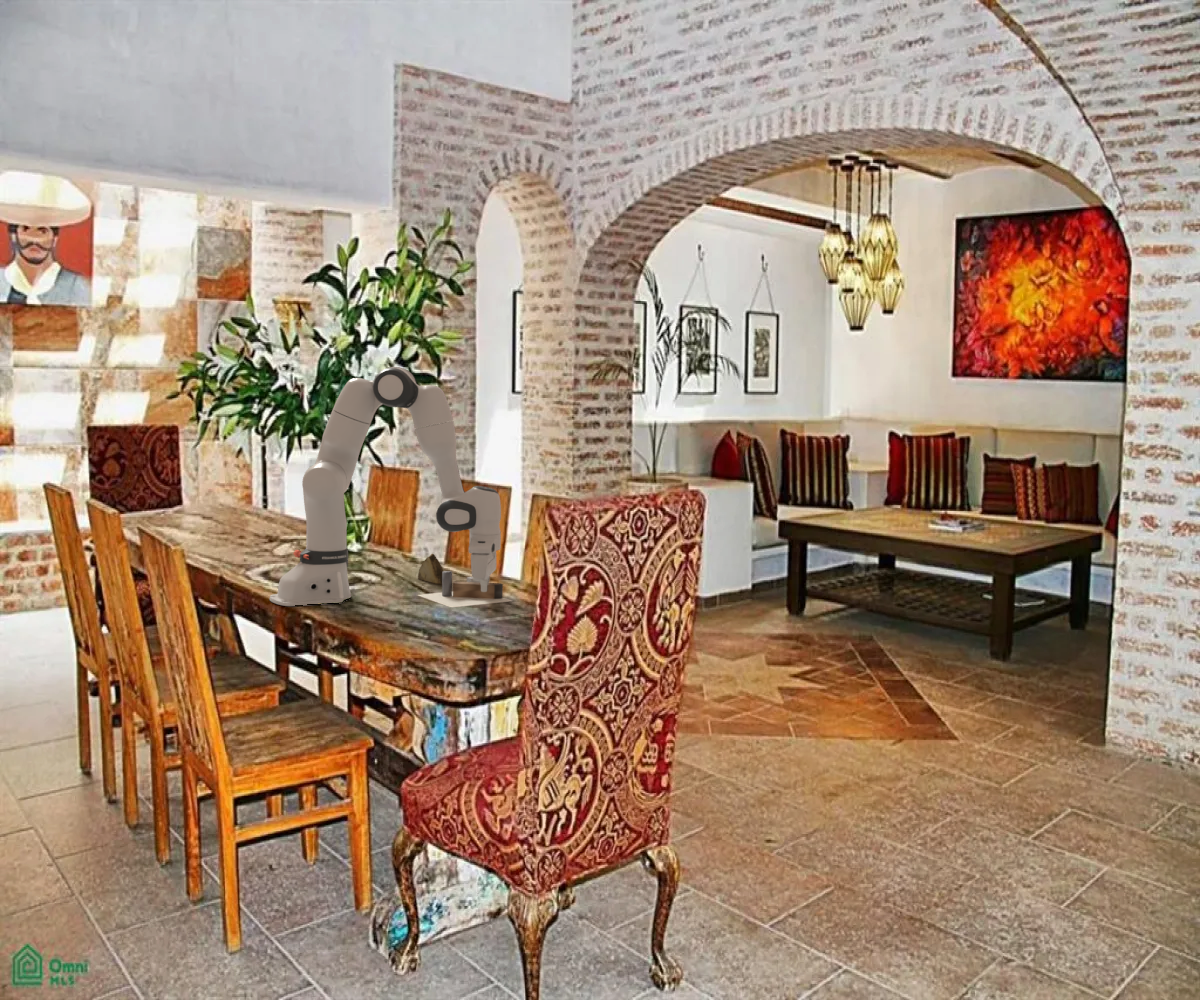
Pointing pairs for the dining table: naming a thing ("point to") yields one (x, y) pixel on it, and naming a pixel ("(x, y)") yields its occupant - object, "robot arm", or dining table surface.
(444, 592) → the wall mounted roll holder
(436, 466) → the robot arm
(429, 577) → the rock
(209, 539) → the dining table surface
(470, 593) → the leg
